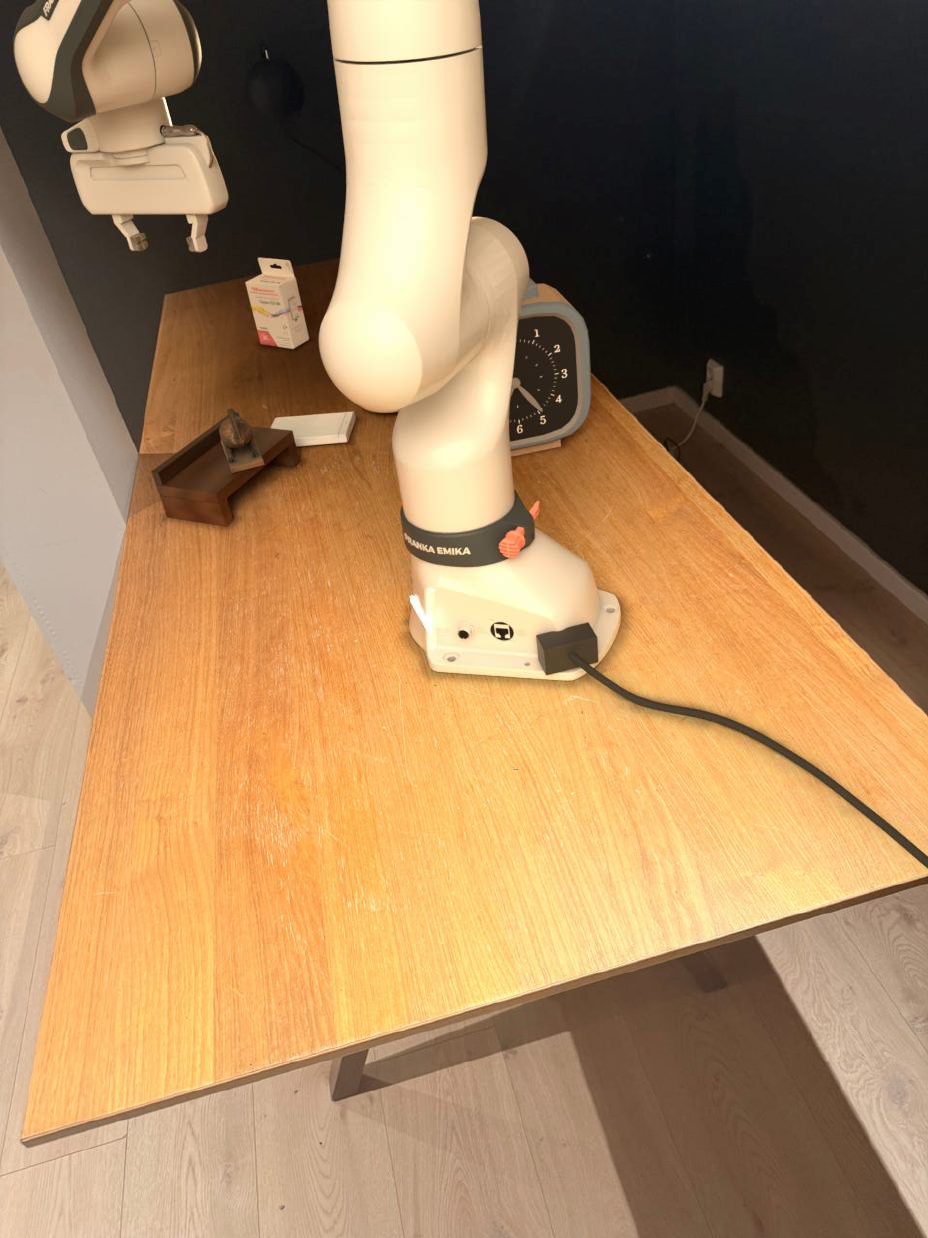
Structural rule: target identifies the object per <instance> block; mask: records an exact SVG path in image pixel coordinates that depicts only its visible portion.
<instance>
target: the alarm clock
mask: <svg viewBox="0 0 928 1238" xmlns="http://www.w3.org/2000/svg"><path fill="white" fill-rule="evenodd" d="M590 347H591V345H590V337H589V329H588V326H587V325H586V322H585V319H584V317H583V316H582V315H581V313H579V311H578V310H576V308H575V307H574V306H573V305H572V304H571V303H570V302H569V301H568V300H567V299H566V298H565V297H564V296H563V294H561V293H560V292H559V291H558V290H557V289H556V288H554V287H552V286H551V285H548V284H546V283H536V282H535V281H534V280H533V279H532V278H531V277H529V282H528V287H527V291H526V294H525V297H524V300H523V303H522V307H521V311H520V316H519V321H518V328H517V337H516V348H515V359H514V368H513V378H512V387H511V396H510V409H509V438H510V450H511V458H512V457H517V456H521V455H527V454H530V453H537V452H541V451H545V450H551V449H555V448H556V449H557V448H561V447H562V443H561V441H562V440H561V439H564V438H567V437H569V436H572V435H573V434H574V433H576V432H577V430H579V429H580V428H581V427H582V426H583V425H584V423H585V422H586V420H587V419H588V416H589V412H590V411H591V410H590V409H591V406H592V374H591V370H592V369H591V348H590Z"/></svg>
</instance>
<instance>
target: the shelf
mask: <svg viewBox="0 0 928 1238" xmlns="http://www.w3.org/2000/svg"><path fill="white" fill-rule="evenodd" d="M235 415H236V416H235V417H240V412H238V411H235ZM228 418H230V417H229V416H228V414H227V415H226V416H224V417H222V419H220V420H219V421H217V422H216V423H215V424H214V425H212V426H211V427H209V428H208V429H207V430H205V431H204V432H202V433H201V434H200V435H198V436H197V437H196V438H195V439H193V440H192V441H190V442H189V443H188V444H187V445H185V446H184V447H182V448H181V449H179V450H178V451H177V452H176V453H174V454H173V455H171V456H170V457H169V458H167V459H166V460H165V461H163V462H162V463H161V464H158V466H157V467H155V468H154V469H152V470H151V475H152V478H153V481H154V484H155V486H156V489H157V492H158V495H159V498H160V500H161V501H160V502H161V504H162V506H163V509H164V512H165V515H166V517H167V518H170V519H175V520H182V521H189V522H196V523H201V524H207V525H213V526H218V527H219V526H220V527H228V526H229V525H230V524H231V523H233V522H234V517H233V514H232V511H231V508H230V504H229V501H228V499H227V498H229V497H230V496H231V495H232V494H233V493H235V492H236V491H237V490H238V489H239V488H241V487H242V486H243V485H244V484H245V483H247V482H248V481H249V480H250V479H251V478H252V477H254V476H255V475H256V474H257V473H258V472H260V471H261V470H262V469H263V468H264V467H265V466H267V465H275V466H281V467H290V468H295V467H296V466H298V465H299V464H300V463H301V460H300V455H299V451H298V447H296V443H295V439H294V435H293V431H291V430H282V429H272V428H271V427H261V426H251V425H250V426H251V428H252V431H253V436H254V439H255V441H256V444H257V446H258V448H259V451H260V453H261V456H262V458H263V461H264V465H261V466H257V467H253V468H249V469H246V470H242V471H238V472H234V473H231V470H230V467H229V464H228V461H227V458H226V455H225V452H224V449H223V446H222V443H221V437H220V434H219V429H220V426H221V424H222V423H223V422H224V421H225V420H226V419H228Z"/></svg>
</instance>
